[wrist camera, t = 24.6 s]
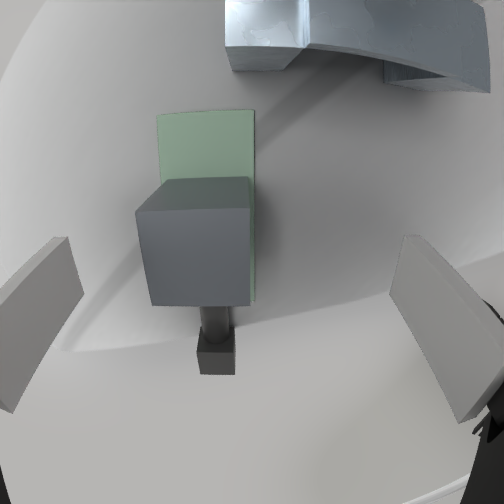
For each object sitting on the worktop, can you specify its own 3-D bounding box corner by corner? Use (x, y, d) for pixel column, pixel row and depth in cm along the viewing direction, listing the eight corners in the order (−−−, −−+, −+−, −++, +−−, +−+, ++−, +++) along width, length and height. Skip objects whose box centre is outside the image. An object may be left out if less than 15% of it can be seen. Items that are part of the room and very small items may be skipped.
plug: (167, 179, 22) (135, 212, 15) (247, 176, 22) (249, 208, 15) (190, 348, 29) (180, 407, 23) (249, 348, 29) (251, 409, 23)
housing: (232, 0, 16) (225, -65, 7) (418, 26, 16) (495, 4, 7) (232, 70, 19) (223, 40, 10) (420, 90, 19) (503, 94, 10)
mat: (158, 115, 20) (156, 115, 19) (253, 109, 20) (253, 109, 20) (177, 299, 27) (176, 301, 27) (254, 298, 27) (254, 301, 27)
